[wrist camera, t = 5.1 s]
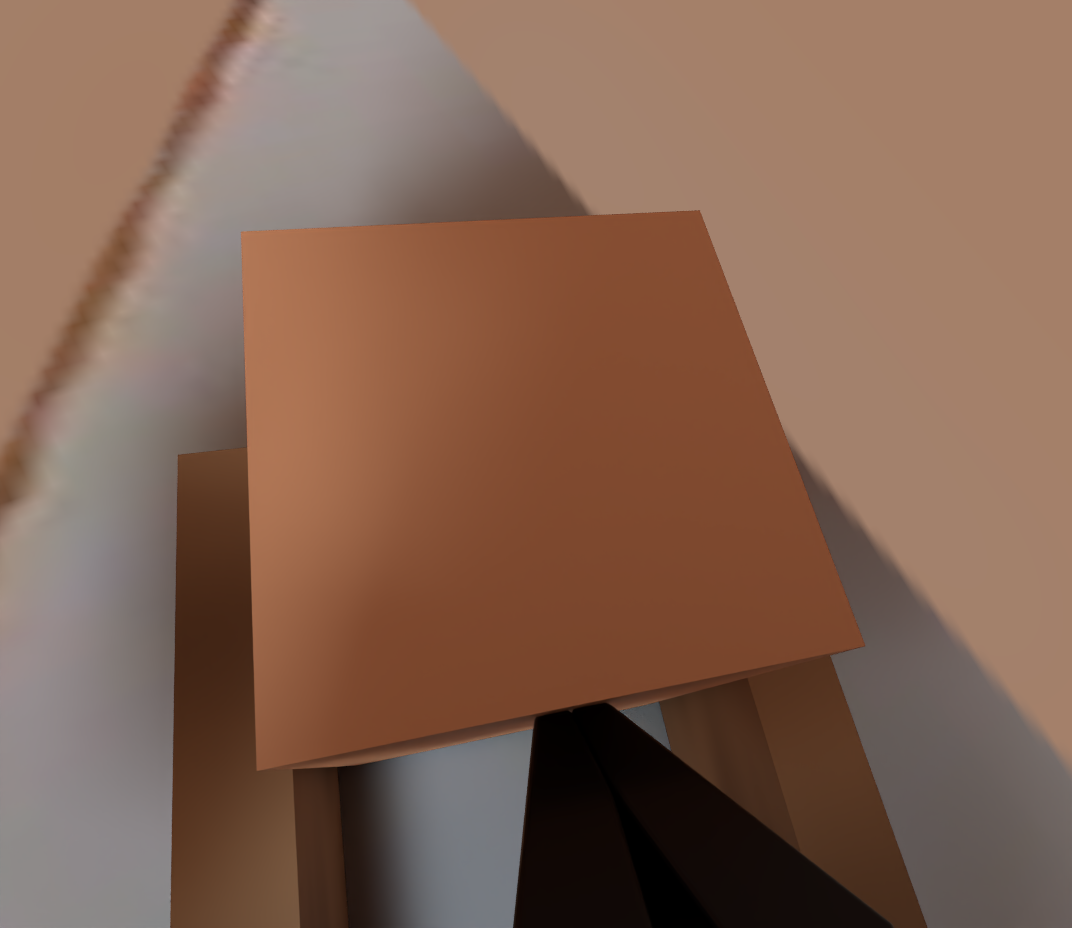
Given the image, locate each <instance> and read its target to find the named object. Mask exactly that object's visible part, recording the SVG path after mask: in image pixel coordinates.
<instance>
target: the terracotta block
mask: <svg viewBox="0 0 1072 928" xmlns="http://www.w3.org/2000/svg"><path fill="white" fill-rule="evenodd" d="M241 244H242V278H243V313H244V348H245V383H246V417H247V452H248V487H249V521H250V556H251V591H252V626H253V660H254V695H255V730H256V764H257V771H266V770H284V769H302V768H320V767H338V766H357V765H362V764H367V763H371V762H376V761H381V760H386V759H390V758H395V757H400V756H405V755H410V754H414V753H419V752H424V751H429V750H433V749H438V748H443V747H448V746H452V745H457V744H462V743H467V742H471V741H476V740H481V739H486V738H491V737H495V736H500V735H505V734H510V733H514V732H519V731H524V730H529V729H533V727H534V720H535V718H536V717H538V716H543V715H548V714H552V713H557V712H562V711H567V710H568V711H570V712H572V710H573V709H577V708H581V707H586V706H591V705H596V704H601V703H608V704H610V705H612V706H613V707H614V708H616V709H617V710H618V711H619V710H624V709H629V708H634V707H638V706H643V705H647V704H651V703H655V702H658V701H662V700H666V699H670V698H673V697H677V696H681V695H684V694H688V693H692V692H696V691H699V690H703V689H707V688H711V687H714V686H718V685H722V684H726V683H729V682H733V681H737V680H740V679H744V678H748V677H752V676H755V675H759V674H763V673H767V672H770V671H774V670H778V669H782V668H785V667H789V666H793V665H796V664H800V663H804V662H808V661H811V660H815V659H819V658H823V657H826V656H830V655H834V654H838V653H841V652H845V651H849V650H852V649H856V648H860V647H864V646H865V644H864V641H863V638H862V636H861V633H860V631H859V628H858V625H857V623H856V620H855V617H854V615H853V612H852V610H851V607H850V604H849V602H848V599H847V596H846V594H845V591H844V589H843V586H842V583H841V581H840V578H839V575H838V573H837V570H836V568H835V565H834V562H833V560H832V557H831V554H830V552H829V549H828V546H827V544H826V541H825V539H824V536H823V533H822V531H821V528H820V525H819V523H818V520H817V518H816V515H815V512H814V510H813V507H812V504H811V502H810V499H809V497H808V494H807V491H806V489H805V486H804V483H803V481H802V478H801V476H800V473H799V470H798V468H797V465H796V462H795V460H794V457H793V454H792V452H791V449H790V447H789V444H788V441H787V439H786V436H785V433H784V431H783V428H782V426H781V423H780V420H779V418H778V415H777V413H776V410H775V407H774V405H773V402H772V399H771V397H770V394H769V391H768V389H767V386H766V384H765V381H764V378H763V376H762V373H761V370H760V368H759V365H758V363H757V360H756V357H755V355H754V352H753V349H752V347H751V344H750V341H749V339H748V337H747V334H746V331H745V328H744V326H743V323H742V320H741V318H740V315H739V313H738V310H737V307H736V305H735V302H734V299H733V297H732V295H731V292H730V289H729V286H728V284H727V281H726V279H725V276H724V273H723V270H722V268H721V265H720V263H719V260H718V258H717V255H716V252H715V250H714V247H713V245H712V242H711V239H710V236H709V235H708V231H707V228H706V226H705V223H704V221H703V218H702V215H701V213H700V211H699V210H698V211H677V212H657V213H656V212H655V213H634V214H614V215H613V214H612V215H591V216H569V217H548V218H526V219H505V220H483V221H462V222H440V223H419V224H397V225H376V226H354V227H333V228H312V229H290V230H269V231H247V232H241Z"/></svg>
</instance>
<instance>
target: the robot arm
mask: <svg viewBox="0 0 1072 928" xmlns="http://www.w3.org/2000/svg"><path fill="white" fill-rule="evenodd" d="M513 928H894V926H893V924H892V923H891V922H889V921H888V920H887V919H885V918H884V917H883V916H882V915H880V914H879V913H878V912H876V911H875V910H874V909H873V908H871V907H870V906H869V905H867V904H866V903H865V902H864V901H862V900H861V899H860V898H859V897H857V896H856V895H855V894H853V893H852V892H851V891H850V890H848V889H847V888H846V887H844V886H843V885H842V884H841V883H839V882H838V881H837V880H835V879H834V878H833V877H832V876H830V875H829V874H828V873H826V872H825V871H824V870H823V869H821V868H820V867H819V866H817V865H816V864H815V863H814V862H812V861H811V860H810V859H808V858H807V857H806V856H805V855H803V854H802V853H801V852H799V851H798V850H797V849H796V848H794V847H793V846H792V845H790V844H789V843H788V842H787V841H785V840H784V839H783V838H781V837H780V836H779V835H778V834H776V833H775V832H774V831H772V830H771V829H770V828H769V827H767V826H766V825H765V824H763V823H762V822H761V821H760V820H758V819H757V818H756V817H754V816H753V815H752V814H751V813H749V812H748V811H747V810H745V809H744V808H743V807H742V806H740V805H739V804H738V803H736V802H735V801H734V800H733V799H731V798H730V797H729V796H727V795H726V794H725V793H724V792H722V791H721V790H720V789H718V788H717V787H716V786H715V785H713V784H712V783H711V782H709V781H708V780H707V779H706V778H704V777H703V776H702V775H700V774H699V773H698V772H697V771H695V770H694V769H693V768H691V767H690V766H689V765H688V764H686V763H685V762H684V761H682V760H681V759H680V758H679V757H677V756H676V755H675V754H673V753H672V752H671V751H670V750H668V749H667V748H666V747H664V746H663V745H662V744H661V743H659V742H658V741H657V740H656V739H654V738H653V737H652V736H650V735H649V734H648V733H647V732H645V731H644V730H643V729H641V728H640V727H639V726H638V725H636V724H635V723H634V722H632V721H631V720H630V719H629V718H627V717H626V716H625V715H623V714H622V713H621V712H620V711H618V710H617V709H616V708H614V707H613V706H612V705H610V704H608V703H601V704H596V705H591V706H586V707H581V708H577V709H573V710H572V712H570V711H568V710H567V711H562V712H557V713H552V714H548V715H543V716H538V717H536V718H535V720H534V727H533V736H532V746H531V756H530V766H529V776H528V786H527V796H526V805H525V815H524V825H523V835H522V845H521V855H520V865H519V875H518V884H517V894H516V904H515V914H514V924H513Z"/></svg>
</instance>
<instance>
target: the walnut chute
mask: <svg viewBox="0 0 1072 928" xmlns="http://www.w3.org/2000/svg"><path fill="white" fill-rule="evenodd" d="M659 703H660V707H661V711H662V715H663V719H664V723H665V727H666V731H667V735H668V739H669V743H670V747H671V751H672V753H673V754H675V755H676V756H677V757H679V758H680V759H681V760H682V761H684V762H685V763H686V764H688V765H689V766H690V767H691V768H693V769H694V770H695V771H697V772H698V773H699V774H700V775H702V776H703V777H704V778H706V779H707V780H708V781H709V782H711V783H712V784H713V785H715V786H716V787H717V788H718V789H720V790H721V791H722V792H724V793H725V794H726V795H727V796H729V797H730V798H731V799H733V800H734V801H735V802H736V803H738V804H739V805H740V806H742V807H743V808H744V809H745V810H747V811H748V812H749V813H751V814H752V815H753V816H754V817H756V818H757V819H758V820H760V821H761V822H762V823H763V824H765V825H766V826H767V827H769V828H770V829H771V830H772V831H774V832H775V833H776V834H778V835H779V836H780V837H781V838H783V839H784V840H785V841H787V842H788V843H789V844H790V845H792V846H793V847H794V848H796V849H797V850H798V851H799V852H801V853H802V854H803V855H805V856H806V857H807V858H808V859H810V860H811V861H812V862H814V863H815V864H816V865H817V866H819V867H820V868H821V869H823V870H824V871H825V872H826V873H828V874H829V875H830V876H832V877H833V878H834V879H835V880H837V881H838V882H839V883H841V884H842V885H843V886H844V887H846V888H847V889H848V890H850V891H851V892H852V893H853V894H855V895H856V896H857V897H859V898H860V899H861V900H862V901H864V902H865V903H866V904H867V905H869V906H870V907H871V908H873V909H874V910H875V911H876V912H878V913H879V914H880V915H882V916H883V917H884V918H885V919H887V920H888V921H889V922H891V923H892V924H893V926H894V928H927V925H926V922H925V920H924V917H923V914H922V911H921V908H920V906H919V903H918V900H917V897H916V894H915V892H914V889H913V886H912V883H911V880H910V878H909V875H908V872H907V869H906V866H905V864H904V861H903V858H902V855H901V853H900V850H899V847H898V844H897V841H896V839H895V836H894V833H893V830H892V827H891V825H890V822H889V819H888V816H887V813H886V811H885V808H884V805H883V802H882V799H881V797H880V794H879V791H878V788H877V785H876V783H875V780H874V777H873V774H872V772H871V769H870V766H869V763H868V760H867V758H866V755H865V752H864V749H863V746H862V744H861V741H860V738H859V735H858V732H857V730H856V727H855V724H854V721H853V718H852V716H851V713H850V710H849V707H848V705H847V702H846V699H845V696H844V693H843V691H842V688H841V685H840V682H839V679H838V677H837V674H836V671H835V668H834V665H833V663H832V660H831V657H830V656H826V657H823V658H819V659H815V660H811V661H808V662H804V663H800V664H796V665H793V666H789V667H785V668H782V669H778V670H774V671H770V672H767V673H763V674H759V675H755V676H752V677H748V678H744V679H740V680H737V681H733V682H729V683H726V684H722V685H718V686H714V687H711V688H707V689H703V690H699V691H696V692H692V693H688V694H684V695H681V696H677V697H673V698H670V699H666V700H662V701H659ZM170 928H349V921H348V908H347V894H346V880H345V866H344V852H343V838H342V825H341V811H340V797H339V783H338V769H337V767H320V768H302V769H284V770H266V771H257V764H256V730H255V695H254V660H253V626H252V591H251V556H250V521H249V487H248V452H247V447H246V448H237V449H227V450H218V451H209V452H200V453H191V454H182V455H178V487H177V549H176V611H175V673H174V735H173V798H172V860H171V922H170Z"/></svg>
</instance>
